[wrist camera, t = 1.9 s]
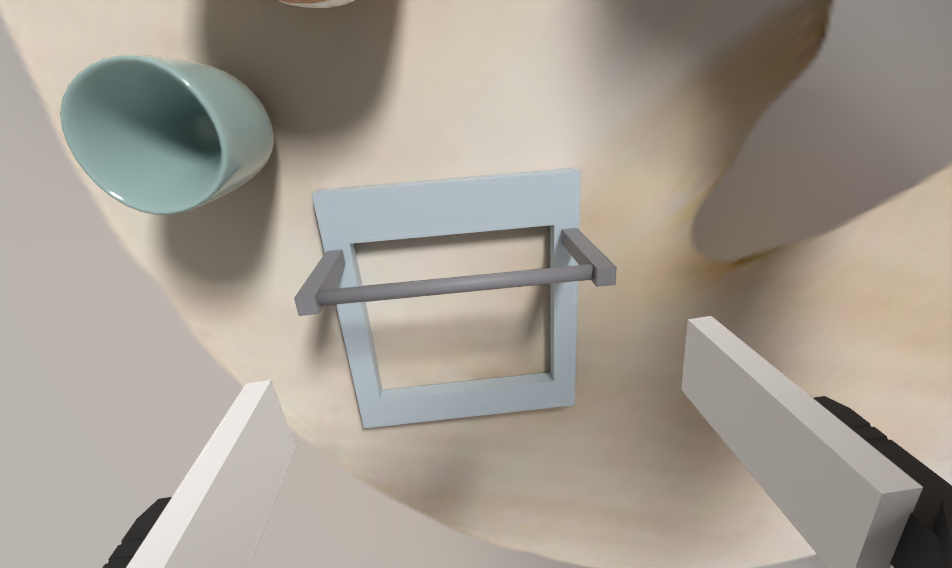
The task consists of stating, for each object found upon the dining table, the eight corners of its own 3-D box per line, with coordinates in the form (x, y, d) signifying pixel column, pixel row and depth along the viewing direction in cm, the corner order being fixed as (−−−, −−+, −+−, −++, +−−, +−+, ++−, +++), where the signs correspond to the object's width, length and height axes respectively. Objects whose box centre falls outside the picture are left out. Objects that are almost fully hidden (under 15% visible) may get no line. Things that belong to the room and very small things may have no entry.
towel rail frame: (316, 190, 34) (271, 227, 24) (575, 167, 34) (624, 195, 25) (366, 417, 43) (346, 506, 33) (570, 395, 43) (605, 476, 34)
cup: (220, 198, 33) (138, 239, 24) (146, 97, 30) (20, 100, 21) (309, 153, 33) (258, 177, 23) (242, 44, 29) (155, 23, 20)
